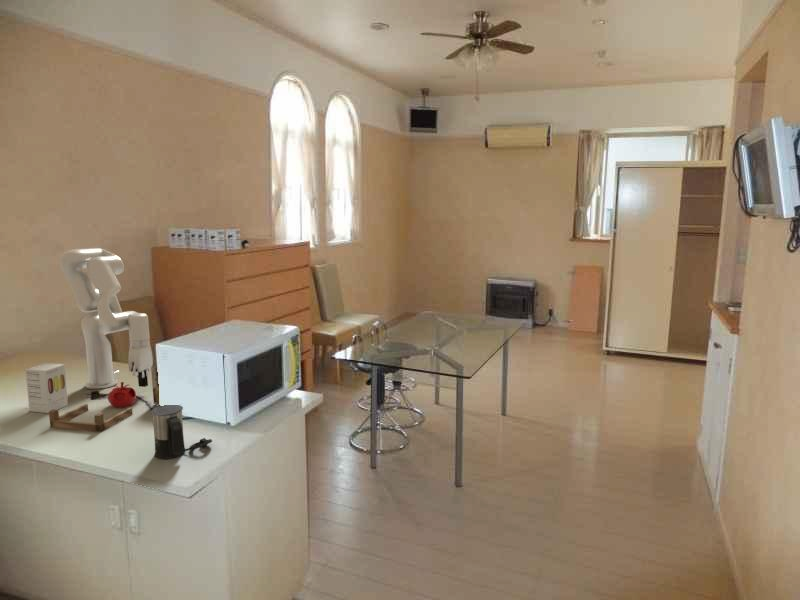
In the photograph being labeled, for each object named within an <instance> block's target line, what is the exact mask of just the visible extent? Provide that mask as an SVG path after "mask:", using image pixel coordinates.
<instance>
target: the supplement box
mask: <svg viewBox="0 0 800 600" xmlns="http://www.w3.org/2000/svg"><path fill="white" fill-rule="evenodd" d="M65 365H66V364H63V363H52V362H51V363H50V362H44V363H41V364H38V365H35V366H32V367H29V368H28V367H27V368H26V369H25V378H26V379H25V380H26V388H27V399H28V409H29V410H28V411H29V412H35V413H43V414H44V413H45V414H49V411H51V410H53V409H55V410H58V411H59V410H60V409H63V408H65V407H67V406H69V402H68V401H69V400H68V391H67V389H68V388H67V377H66V367H65Z"/></svg>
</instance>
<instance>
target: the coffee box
mask: <svg viewBox="0 0 800 600" xmlns="http://www.w3.org/2000/svg"><path fill="white" fill-rule="evenodd" d="M150 373H151V383H152V384H151V386H152V397H153V405H154V404H155V405H154V406H156V405H159V384H158V372H157V364H155V365H152V367H151V369H150Z"/></svg>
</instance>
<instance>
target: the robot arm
mask: <svg viewBox="0 0 800 600" xmlns="http://www.w3.org/2000/svg"><path fill="white" fill-rule="evenodd" d="M59 266H60V268H61V272H62V274H63V275H64V278H65V279H66V280H67V282H68V284H69V286H70V289H71V291H72V294H73V297H74V299H75V302H76V305H77V307H78V309H79V311H81V312H83V313H92V314H89V315H87V316H85V317H84V318H83V319H82V320H81V323H80V325H81V331H82V333H83V338H84V343H85V352H86V354H85V355H86V363H87V365H86V366H87V375H88V381H86V382H85V384H84V387H85V388H87V389H90V390H93V389H94V390H96V389H97V390H99V389H100V390H101V389H106V388H110V387H111V388H112V387H114V386H117V384H118V382H119V381H118V379H117V378H115V377H116V376H119V374H121V373H120V370H118V369H117V370H115V371H114V367H113V354H112V345H111V342H110V340H109V339H108V338H107V336H106V335H108V334H112V333H113V334H114V333H118V332H122V331H128V337H129V338H128V340H129V349H128V371H129V372H132V376H133V377H134V376H135V377H137V381H138V386H139V387H142V388H143V387H144V388H145V387H147V386H148V385H149V379H148V376H149V371H151V367H152V366H154V359H153V350H152V347H151V337H150V336H151V335H150V324H149V316H148V315H147V313H144V312H143V313H142V312H137V311H135V310H127V311H123V309H122V308H121V305H120V301H119V299H118V297H117V294H119V292H120V291H121V289H122V286H121V284H120V282H119V280H118V278H117V275H120V274H122V273H124V271H125V270H124V269H125V265H124V262H123V260H122V259H121V257H120V256H118V255H116V254H115V253H112V252H111V251H108V250H106V249H104V248H100V247H89V248H88V247H87V248H75V249H70V250H67V251H65V252H63V253H62V254H61V257H60V260H59ZM83 269H87V271H88V273H89V275H88V274H87V272H85V271H83ZM93 312H97V313H93Z"/></svg>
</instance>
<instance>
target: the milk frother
mask: <svg viewBox="0 0 800 600" xmlns="http://www.w3.org/2000/svg"><path fill="white" fill-rule="evenodd" d="M183 409H184V406H182V405H181V404H180V405H164V406H156V407H155V408H153V409H152V410H151V413H152V422H153V425H152V427H153V435H154V438H153V439H154V457H155V458H157V459H160V460H161V459H162V460H165V459H167V460H168V459H174V458H178V457H179V456H182V455H183V454H185V453H186V452H187V451H191V450H194V449H197V448H198V449H199V448H202V447H203V448H204V447H206V446H207V445H209V444H211V443H212V442H213V440H212V439H211V438H209V439H206V438H205V437H204V438H203V437H202V438H201V439H200V440H199V441H198V442H195V443H193V444H192V445H190V446H189V447H188V448H186V447H185V440H184V423H183V422H184V421H183V420H184V419H183Z"/></svg>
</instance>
